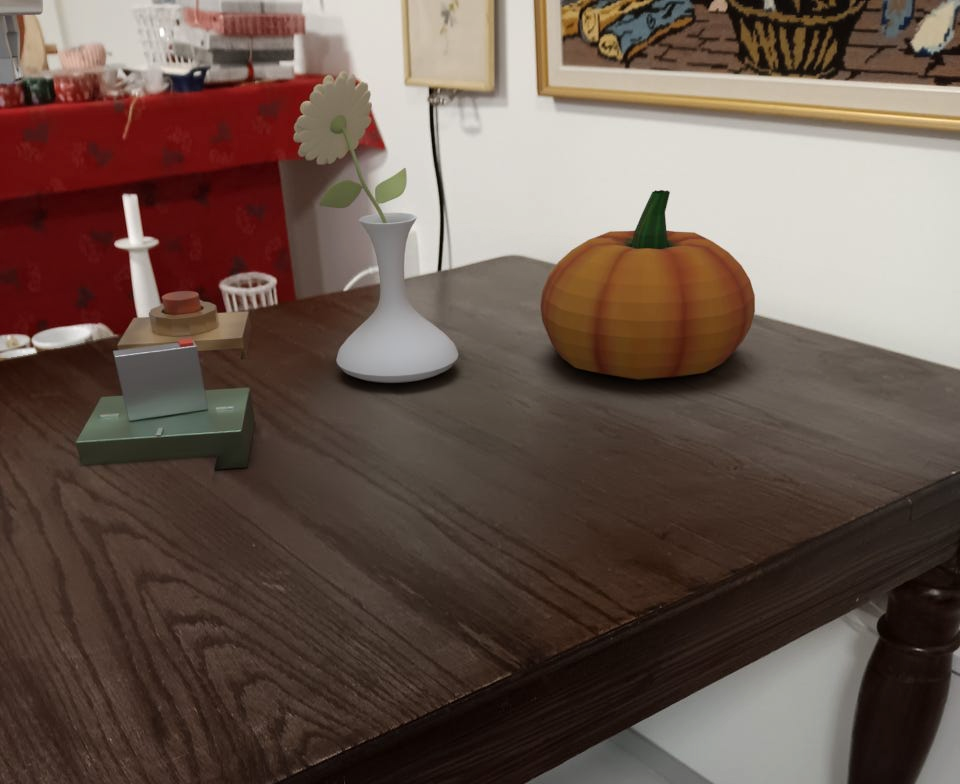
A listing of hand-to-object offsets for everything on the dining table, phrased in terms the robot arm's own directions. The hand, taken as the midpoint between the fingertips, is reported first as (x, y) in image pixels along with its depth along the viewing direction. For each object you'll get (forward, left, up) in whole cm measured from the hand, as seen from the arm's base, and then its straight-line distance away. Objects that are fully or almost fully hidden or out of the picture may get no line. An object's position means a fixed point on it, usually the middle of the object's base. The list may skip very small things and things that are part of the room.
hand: (9, 82), depth 81 cm
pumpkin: (+53, -6, -25) cm, 59 cm away
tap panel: (+11, -20, -25) cm, 34 cm away
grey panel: (+11, -20, -22) cm, 32 cm away
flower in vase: (+29, -5, -25) cm, 39 cm away
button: (+9, +8, -21) cm, 24 cm away
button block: (+9, +8, -25) cm, 28 cm away
